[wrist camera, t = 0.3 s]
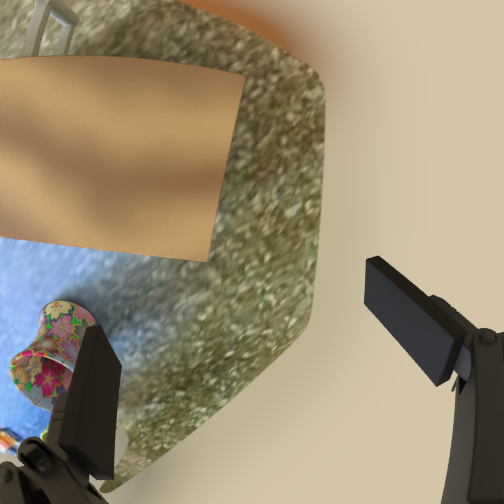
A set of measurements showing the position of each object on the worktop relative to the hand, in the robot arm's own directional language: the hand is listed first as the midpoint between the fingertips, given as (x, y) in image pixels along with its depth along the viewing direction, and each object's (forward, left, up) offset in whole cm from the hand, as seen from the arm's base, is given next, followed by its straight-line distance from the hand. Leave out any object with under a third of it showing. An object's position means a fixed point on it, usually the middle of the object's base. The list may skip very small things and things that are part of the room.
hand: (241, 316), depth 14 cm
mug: (0, -21, -20) cm, 29 cm away
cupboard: (-11, -2, -19) cm, 22 cm away
